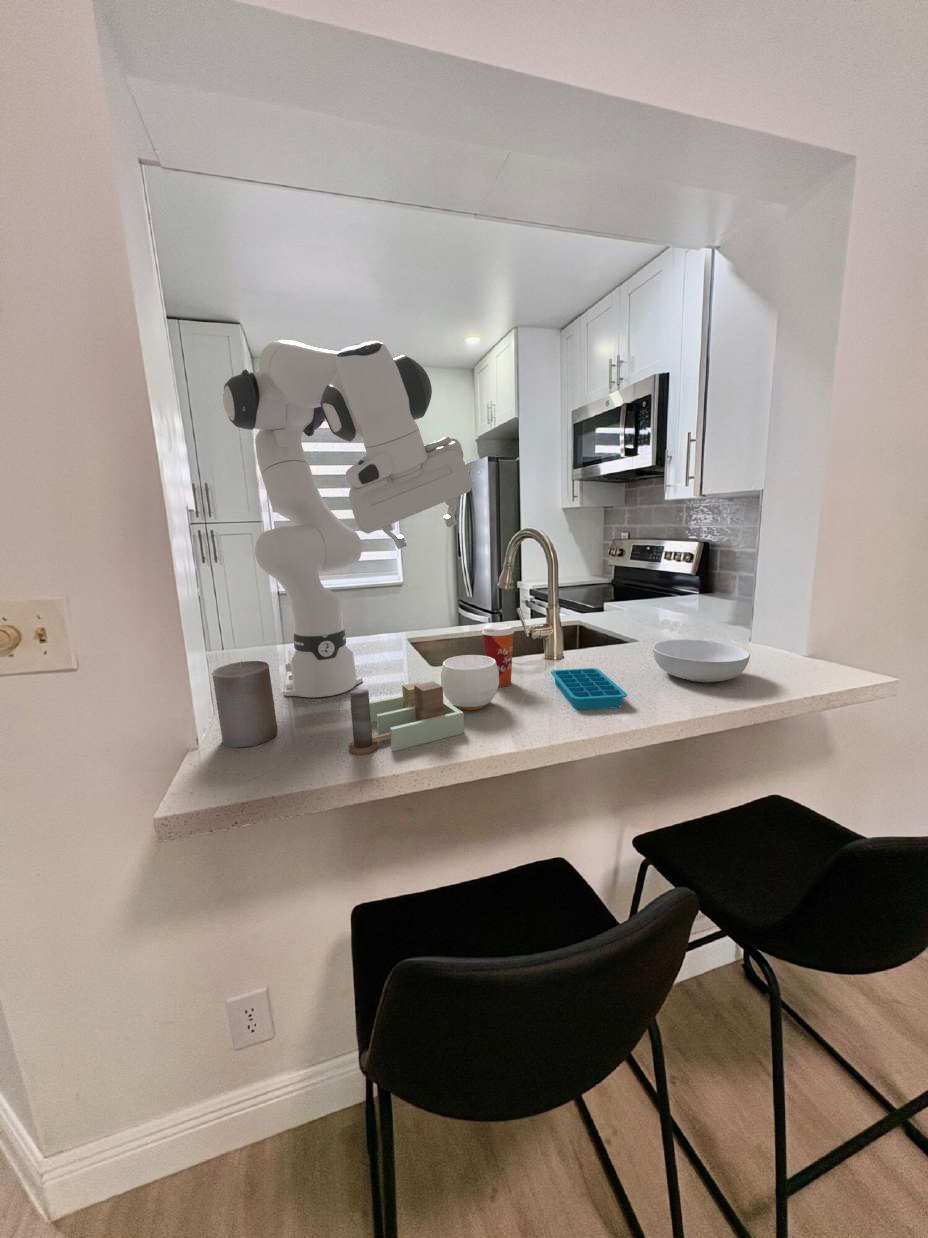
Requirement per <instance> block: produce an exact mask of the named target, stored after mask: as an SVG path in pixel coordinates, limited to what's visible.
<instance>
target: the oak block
mask: <svg viewBox="0 0 928 1238" xmlns="http://www.w3.org/2000/svg"><path fill="white" fill-rule="evenodd" d="M417 684H421V683H420V682H419V681H417V682H411V683H406V684H402V685H401V688H402V689H401V690H402V691H401V692H402V695H403V707H404V708H408V707H413V706H415V693H414V685H417Z"/></svg>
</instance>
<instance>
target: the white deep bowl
mask: <svg viewBox="0 0 928 1238" xmlns="http://www.w3.org/2000/svg"><path fill="white" fill-rule="evenodd" d="M440 679H441V682H440V683H441V684H440V685H441V686H442V687H443V696H445V698H446V699H447V700H448V703H450V704H451V705H453V706H457V707H458V709H459V710H465V711H475V710H480V709H482V708H483V707H484V706H486V705H488V704H490V702H491V701H492V700H493V699H494V698H495V696H496V695H497V692H498V689H499V687H498V686H499V671H498V668H497V664H496V661H495V659H493V658H491V657H487V656H485V655H482V654H481V655H480V654H465V655H464V654H463V655H458V656H453V657H449V658H447V659H445V660H443V662H442V666H441V671H440Z"/></svg>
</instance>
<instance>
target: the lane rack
mask: <svg viewBox="0 0 928 1238" xmlns="http://www.w3.org/2000/svg"><path fill="white" fill-rule="evenodd" d="M369 703H370V716H371V724H373V723H376V729H377V735H381V734H385V733H389V732H390V749H391V751H392V752H397V751H400V750H404V749H407V748H408V749H409V748H412V747H415V746H419V745H423V744H426V743H430V742H434V741H439V740H442V739H447V738H450V737H454V736H457V735H462V734H465V719H464V718H465V717H464V716H465V715H464V712H463V711H462V710H461V709H460V708H457V707H456V706H455V705H453V704H452V703H451V702H449V701H447V700H445V699H444V698H443V704H444V715H441V716H437V717H433V718H429V719H425V720H420V721H416V710H415V706H413V707H408V708H404V707H403V694H401V695H397V696H392V697H386V698H384V699H377V700H373V701H369Z"/></svg>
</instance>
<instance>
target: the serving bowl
mask: <svg viewBox="0 0 928 1238" xmlns="http://www.w3.org/2000/svg"><path fill="white" fill-rule="evenodd" d="M652 654H653V657H654V660H655V662H656V664H657V665H658V666H659V667H660V668H661V669H662V670H663V671H664V672H666V673H667V674H670V675H672V676H673V677H676V678H680V679H683V680H685V679H687V680H686V681H689V680H691V681H690V682H695V681H697V682H696V683H712V682H714V683H715V682H723V681H727V680H732V679H734V678H736V677H738V676H740V674H742V673H743V672H744V671H745V670H746V668H747V666H748V664H749V662H750V657H751V654H750V653H749V652H748V651H747V650H746V649H744V648H743V647H740V646H736V645H732V644H729V643H724V642H720V641H711V640H705V639H704V640H703V639H689V638H688V639H669V640H663V641H659V642H655V643H654V644H653V645H652Z"/></svg>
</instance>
